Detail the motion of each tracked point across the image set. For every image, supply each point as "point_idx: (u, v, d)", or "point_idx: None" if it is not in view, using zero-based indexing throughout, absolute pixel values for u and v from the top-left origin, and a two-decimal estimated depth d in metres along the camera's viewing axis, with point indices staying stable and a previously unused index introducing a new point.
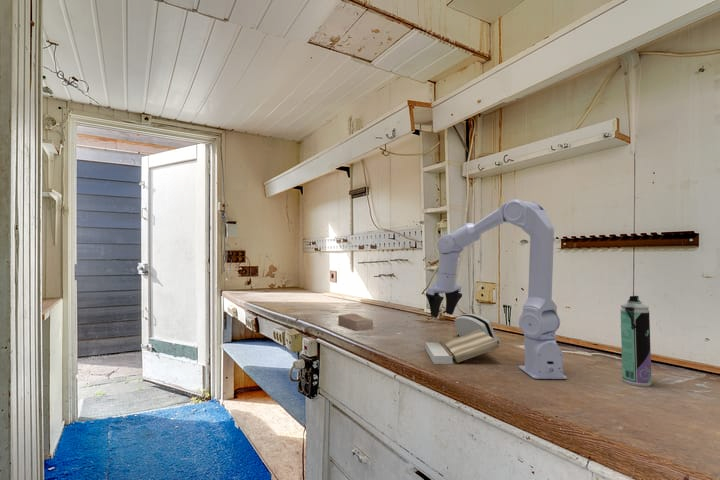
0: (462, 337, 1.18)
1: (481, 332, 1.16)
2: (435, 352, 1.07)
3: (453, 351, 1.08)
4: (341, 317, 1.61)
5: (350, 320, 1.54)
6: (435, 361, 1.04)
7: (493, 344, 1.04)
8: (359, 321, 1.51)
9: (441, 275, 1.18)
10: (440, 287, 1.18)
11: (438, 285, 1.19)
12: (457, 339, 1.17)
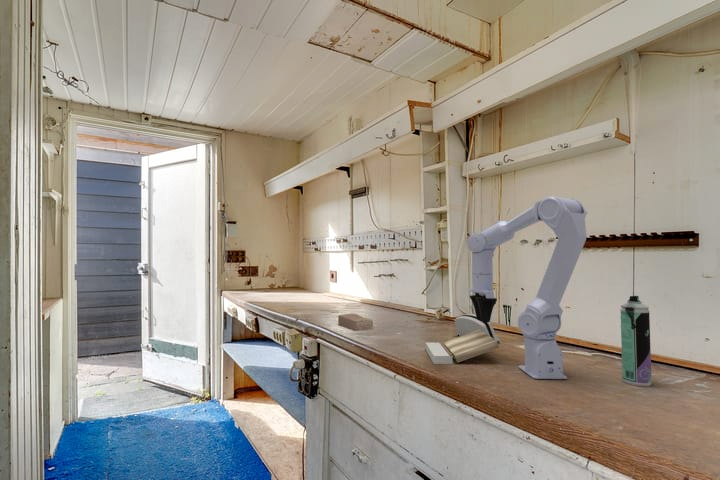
0: (462, 337, 1.18)
1: (481, 332, 1.16)
2: (435, 352, 1.07)
3: (453, 351, 1.08)
4: (341, 317, 1.61)
5: (350, 320, 1.54)
6: (435, 361, 1.04)
7: (493, 344, 1.04)
8: (359, 321, 1.50)
9: (485, 276, 1.09)
10: (486, 289, 1.09)
11: (483, 288, 1.09)
12: (457, 339, 1.17)
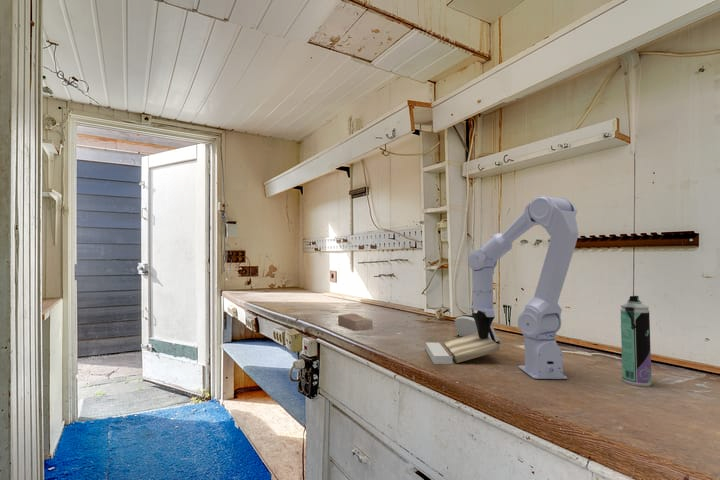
0: (462, 338, 1.18)
1: None
2: (435, 352, 1.07)
3: (453, 351, 1.08)
4: (341, 317, 1.61)
5: (350, 320, 1.54)
6: (435, 361, 1.04)
7: (493, 347, 1.04)
8: (359, 321, 1.50)
9: (485, 294, 1.09)
10: (487, 307, 1.09)
11: (483, 306, 1.09)
12: (457, 340, 1.17)
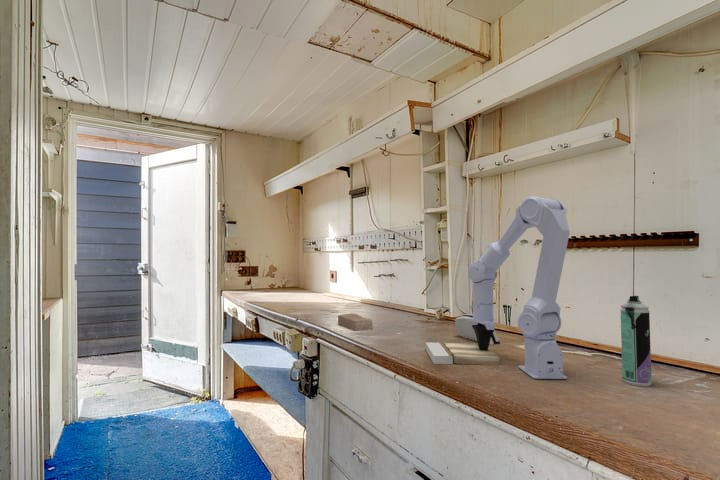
0: (463, 344, 1.18)
1: None
2: (435, 352, 1.07)
3: (453, 352, 1.08)
4: (341, 317, 1.61)
5: (350, 320, 1.54)
6: (435, 361, 1.04)
7: (494, 359, 1.03)
8: (358, 321, 1.50)
9: (486, 306, 1.09)
10: (487, 319, 1.09)
11: (483, 318, 1.09)
12: (458, 344, 1.17)
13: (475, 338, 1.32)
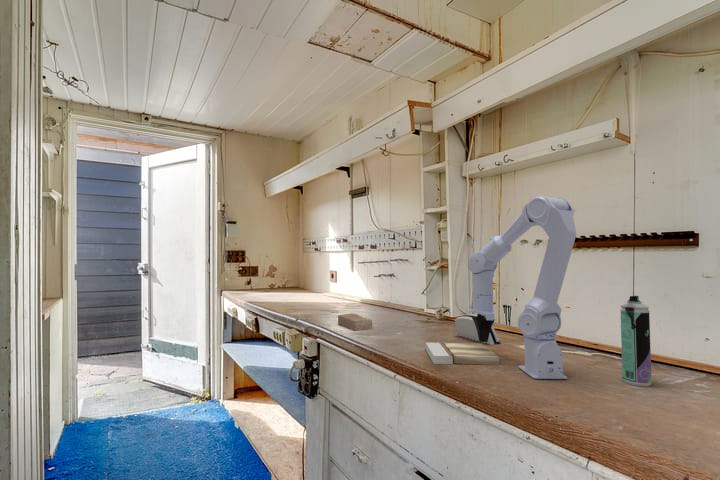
0: (463, 344, 1.18)
1: (484, 346, 1.16)
2: (435, 352, 1.07)
3: (453, 352, 1.08)
4: (341, 317, 1.61)
5: (349, 320, 1.54)
6: (435, 361, 1.04)
7: (494, 359, 1.03)
8: (358, 321, 1.50)
9: (485, 297, 1.09)
10: (487, 310, 1.09)
11: (483, 309, 1.09)
12: (458, 344, 1.17)
13: (475, 338, 1.32)
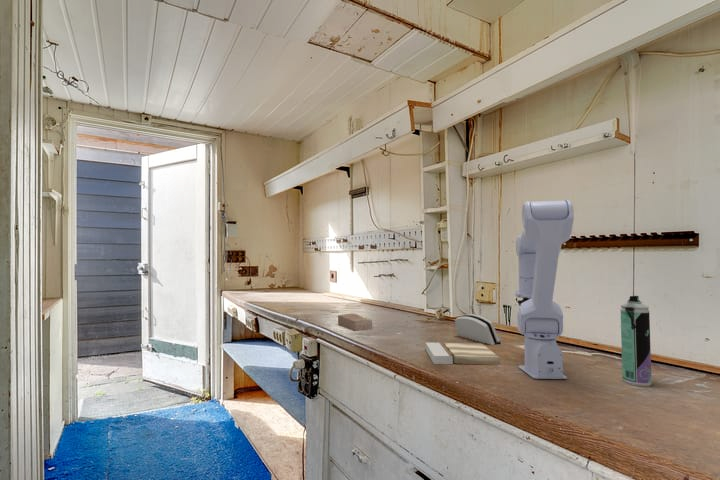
0: (463, 344, 1.18)
1: (484, 346, 1.16)
2: (435, 352, 1.07)
3: (453, 352, 1.08)
4: (341, 317, 1.61)
5: (349, 320, 1.54)
6: (435, 361, 1.04)
7: (494, 359, 1.03)
8: (358, 321, 1.50)
9: None
10: None
11: (532, 292, 1.07)
12: (458, 344, 1.17)
13: (476, 338, 1.32)
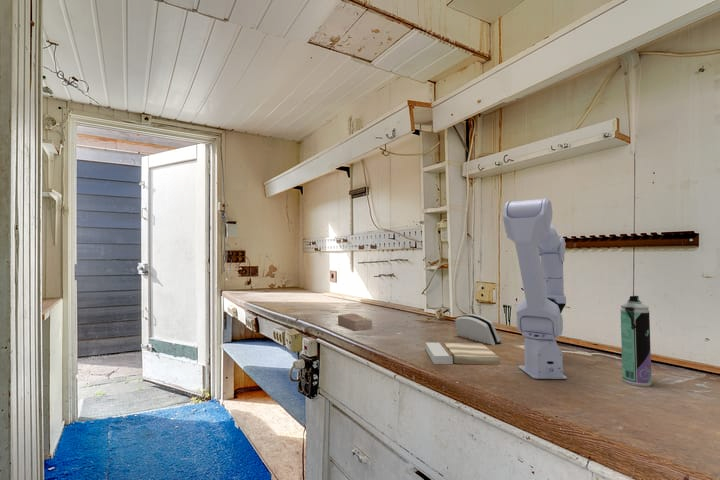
0: (463, 344, 1.18)
1: (484, 346, 1.16)
2: (435, 352, 1.07)
3: (453, 352, 1.08)
4: (341, 317, 1.61)
5: (349, 320, 1.54)
6: (435, 361, 1.04)
7: (494, 359, 1.03)
8: (358, 321, 1.50)
9: (555, 281, 1.06)
10: (557, 294, 1.06)
11: (553, 292, 1.06)
12: (458, 344, 1.17)
13: (476, 338, 1.32)
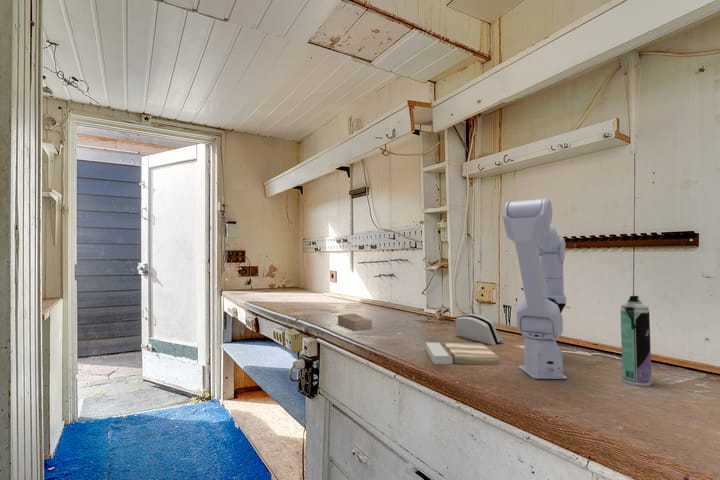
0: (463, 344, 1.18)
1: (484, 346, 1.16)
2: (435, 352, 1.07)
3: (453, 352, 1.08)
4: (340, 317, 1.61)
5: (349, 320, 1.54)
6: (435, 361, 1.04)
7: (494, 359, 1.03)
8: (358, 321, 1.50)
9: (555, 281, 1.06)
10: (557, 294, 1.06)
11: (553, 292, 1.06)
12: (458, 344, 1.17)
13: (476, 338, 1.31)
